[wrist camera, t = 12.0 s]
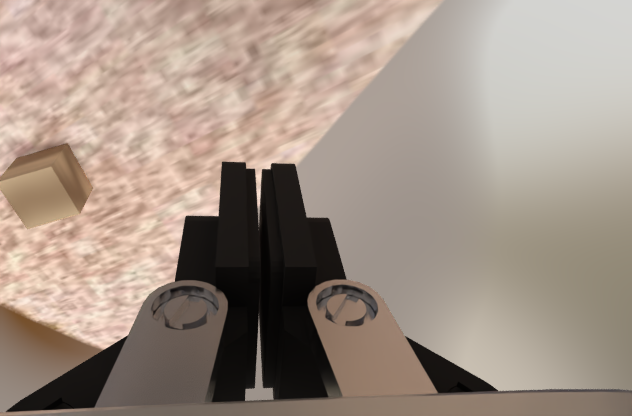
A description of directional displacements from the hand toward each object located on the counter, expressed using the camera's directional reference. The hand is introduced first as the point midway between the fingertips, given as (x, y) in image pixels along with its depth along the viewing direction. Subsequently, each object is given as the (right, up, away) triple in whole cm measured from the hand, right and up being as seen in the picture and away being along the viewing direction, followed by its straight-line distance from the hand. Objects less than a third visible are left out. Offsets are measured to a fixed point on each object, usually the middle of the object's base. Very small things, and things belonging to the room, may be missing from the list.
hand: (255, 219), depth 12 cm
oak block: (-19, +3, +27) cm, 33 cm away
